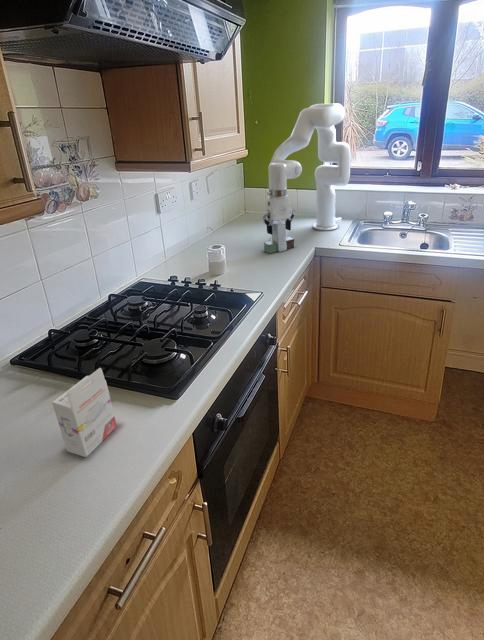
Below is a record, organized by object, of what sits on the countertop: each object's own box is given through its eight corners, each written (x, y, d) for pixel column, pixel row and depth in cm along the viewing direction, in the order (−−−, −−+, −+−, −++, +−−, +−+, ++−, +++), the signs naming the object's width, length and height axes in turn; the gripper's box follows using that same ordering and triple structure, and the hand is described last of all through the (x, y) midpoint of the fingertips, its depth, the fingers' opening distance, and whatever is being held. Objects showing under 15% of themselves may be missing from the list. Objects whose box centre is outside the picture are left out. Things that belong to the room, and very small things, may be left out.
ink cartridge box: (98, 421, 84) (83, 361, 78) (117, 427, 82) (104, 366, 77) (65, 451, 77) (46, 388, 71) (85, 459, 75) (67, 394, 69)
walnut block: (289, 245, 186) (289, 236, 185) (294, 247, 183) (294, 238, 182) (282, 246, 184) (281, 238, 183) (287, 249, 181) (286, 240, 180)
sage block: (271, 249, 182) (271, 240, 180) (276, 251, 179) (276, 243, 177) (264, 251, 180) (264, 242, 178) (269, 253, 177) (269, 244, 175)
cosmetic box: (287, 250, 180) (286, 223, 175) (278, 252, 178) (277, 225, 173) (279, 246, 185) (279, 220, 180) (271, 248, 183) (270, 222, 178)
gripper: (265, 197, 165) (267, 237, 171) (299, 191, 173) (300, 230, 180) (256, 194, 171) (257, 233, 177) (289, 189, 179) (290, 226, 186)
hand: (279, 231), depth 179 cm, fingers open, 9 cm apart
